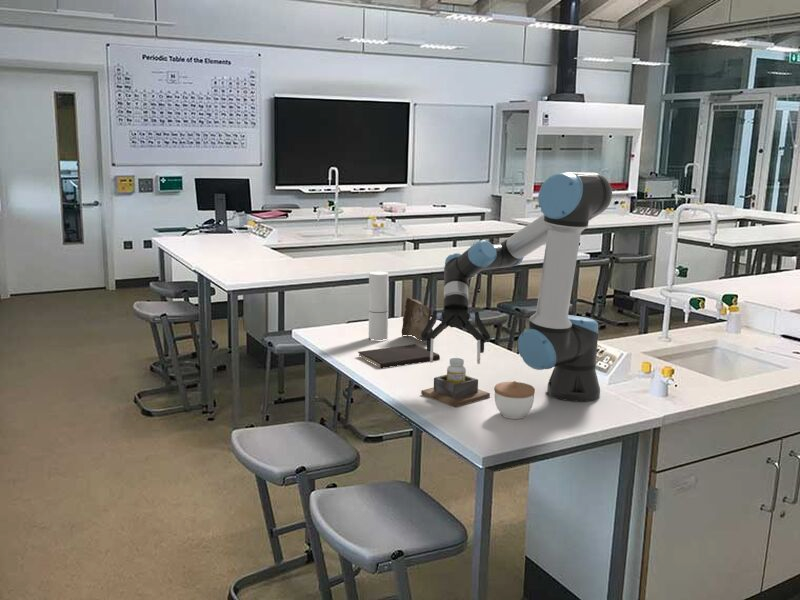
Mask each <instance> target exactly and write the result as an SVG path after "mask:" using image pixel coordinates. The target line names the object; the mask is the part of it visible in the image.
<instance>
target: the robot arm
mask: <svg viewBox="0 0 800 600" xmlns="http://www.w3.org/2000/svg"><path fill="white" fill-rule="evenodd" d="M612 198H613V190H612V186H611V184H610V182H609V180H608V179H607V178H606V177H604V176H603V175H602V174H600V173H597V172H592V171H591V172H589V171H588V172H586V171H585V172H581V171H580V172H576V171H575V172H572V171H564V172H559V173H555V174H552V175H550V176H549V177H548V178H547V179H545V180H544V182H543V183H542V185H541V186H540V189H539V191H538V196H537V201H538V203H537V204H538V207H539V208H540V211H541V213H542V215H541V216H539V217H538V218H536V219H534V220H533V221H532V222H530V223H529V224H527V225H526V226H524V227H523V228H521V229H520V230H518V231H517V232H515V233H513V235H511V236H510V237H508V238H507V239H505V240H503V241H502V242H500V243H491V242H490V241H487V239H482V240H481V239H480V240H478V241H477V242H475V243H473V244H471V246H470V247H469V248H468V249H466V251H464V252H462V253H459V252H456V253H453V254H449V255H448V256H447V257H446V258H445V261H444V262H445V263H444V267H443V268H444V269H443V272H444V273H443V275H444V278H443V279H444V280H443V282H444V283H443V286H444V287H443V310H442V312H438V311H437V310H435V309H434V310H433V312H432V315H431V318H430V321H429V322H428V324H427V326H426V327H425V329H424V330H423V332H422V333H421V340H425V341H427V346H426V349H427V351H430V361H429V362H430V363H433V362H434V361H433V352H434V339H436V338H437V337H438V336H439V335H440V334H441V333H442V332H443V331H444V330H446V329H447V328H448V327H450V328H459V329H461V328H462V327H463V329H464V330H466V331H467V332H468V333H469V334H470V335H471V336H472V337H473V338H474V339H475V341H477V343H476V363H477V365H480V364H481V354H484V352H485V343H490V341H491V335H490V333H489V332H488V330H487V328H486V327H485V324H484V323H483V321H482V319H481V318H480V312H479V311H474V313H470V312H469V290H470V289H469V284H470V283H469V280H470V279H472V278H473V277H475V276H476V275H477V274H479V273H480V272H482V271H487V270H488V271H489V270H495V269H501V268H502V269H503V268H513V267H515V266H516V267H517V266H518V265H520V264H521V263H522V261H523V259H524V258H525V257H526V256H527V255H529V254H531V253H532V252H534V251H536V250H537V249H539V248H540V247H542V246H544V245H545V249H544V256H543V261H542V262H543V264H542V271H541V277H540V282H539V283H540V285H539V290H538V298H537V304H536V311H535V313H534V314H532V315H531V316H530V317H529V319H528V321H529V323H528V325H527V327H528V328H527V329H525V330H523V331H522V333H520V335H519V337H518V340H517V349H518V354H519V356H520V358H521V359H522V361H523V362H524V363H525V364H526V366H528V367H529V368H532V369H533V370H536V371H537V370H538V371H542V370H543V371H544V370H550V369H552V368H553V370H552V373H551V374H550V377H549V379H548V382H547V388H546V389H547V390H546V392H547V394H548V395H550V396H552V397H553V396H554V398H555V399H559V400H563V401H570V402H590V401H594V400H597V399H599V398H600V397H601V396H600V395H601V386H600V383H599V380H598V375H597V370H596V366H597V353H598V351H597V350H598V337H599V334H600V332H599V323H598V322H597V320H595V319H592V318H589V317H587V316H586V317H585V316H579V315H578V316H577V315H572V314H569V310H570V305H571V297H572V291H573V285H574V279H575V272H576V267H577V266H576V265H577V260H578V253H579V246H580V240H581V235H582V232H583V231H584V230H586V229H587V228H588V227H589V222H590V221H591V220H592V219H594V218H595V217H597V216H599V215H601V214H602V213H604V212H605V211H606V209H608V207H609V206H610V204H611V201H612ZM440 319H442V320H441V322H440V323H439V324H438V325H436V327H435V328H434V326H435V324H436V322H437V321H438V320H440ZM470 319H471V320H472V322H475V325H476V327H477V328H475V327H474V326H473V324H471V322H470V321H469V320H470ZM433 328H434V329H433ZM431 329H433V331H432V332H431V333H430V334H429V332H430V331H431ZM477 329H478V330H479V331H478V330H477ZM428 334H429V335H428Z"/></svg>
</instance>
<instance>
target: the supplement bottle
mask: <svg viewBox="0 0 800 600" xmlns="http://www.w3.org/2000/svg"><path fill="white" fill-rule="evenodd" d="M464 365H465V360H464V359H463V358H459V357H453V358H450V359H449V365H448V366H447V369H446V375H447V381H449V382H452V383H455V384H457V383H461V382H465V375H466V376H467V373H466V372H467V371H466V367H465V366H464Z"/></svg>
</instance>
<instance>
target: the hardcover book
mask: <svg viewBox="0 0 800 600" xmlns="http://www.w3.org/2000/svg"><path fill="white" fill-rule="evenodd" d="M357 353H358V357H359V356H361V357H362V358H364V359H366V360H368V361H370V362H372V363H374V364H376V365H377V366H379V367H380V368H381V369H384V368H383V367H388V368H391V367H390V366H395V367H398V366H397V365H401V366H406V365H405V364H408V365H413V364H412V363H415V364H420V363H419V362H421V363H427V361H428V362H430V351H427V348H425V347H423V346H420V345H418V344H416V343H415V344H413V343H412V344H406V345H398V346H391V347H384V348H376V349H369V350H363V351H362V350H361V351H357ZM440 357H441V356H440V354H439V353H436V352H434V351H433V362H434V361H440V359H441V358H440ZM362 358H361V359H362ZM364 359H363V360H364ZM366 360H365V361H366ZM368 361H367V362H368ZM370 362H369V363H370ZM372 363H371V364H372ZM374 364H373V365H374ZM377 366H376V367H377ZM379 367H378V368H379ZM380 368H379V369H380Z"/></svg>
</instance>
